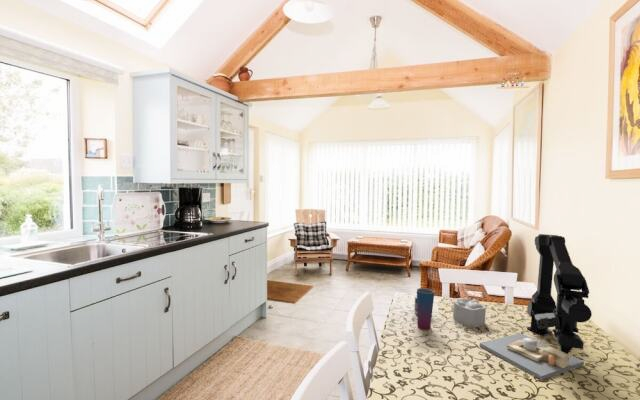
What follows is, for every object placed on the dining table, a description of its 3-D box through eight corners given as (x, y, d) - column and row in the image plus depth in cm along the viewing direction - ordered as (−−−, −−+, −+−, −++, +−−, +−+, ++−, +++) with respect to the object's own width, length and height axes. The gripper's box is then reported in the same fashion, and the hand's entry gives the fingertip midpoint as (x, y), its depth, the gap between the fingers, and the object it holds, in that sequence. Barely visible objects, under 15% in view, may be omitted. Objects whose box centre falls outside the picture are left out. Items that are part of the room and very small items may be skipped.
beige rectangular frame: (506, 348, 117) (507, 338, 117) (522, 341, 122) (522, 332, 122) (558, 371, 103) (559, 360, 103) (573, 362, 108) (574, 352, 108)
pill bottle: (412, 310, 153) (413, 289, 152) (424, 310, 153) (425, 289, 153) (417, 315, 147) (418, 293, 146) (429, 315, 148) (430, 293, 147)
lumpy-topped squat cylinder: (469, 327, 136) (470, 307, 136) (446, 315, 148) (447, 296, 148) (488, 324, 140) (489, 304, 139) (464, 312, 152) (465, 294, 152)
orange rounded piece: (550, 363, 108) (550, 354, 108) (555, 365, 106) (556, 356, 106) (547, 364, 107) (547, 355, 107) (552, 366, 106) (552, 357, 106)
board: (519, 336, 130) (520, 322, 129) (583, 365, 110) (584, 349, 109) (479, 346, 121) (480, 332, 120) (541, 379, 101) (542, 363, 100)
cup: (433, 331, 131) (435, 294, 131) (415, 329, 133) (417, 292, 132) (431, 324, 138) (433, 288, 137) (414, 322, 140) (416, 287, 139)
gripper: (534, 296, 120) (531, 337, 121) (540, 314, 104) (537, 363, 105) (572, 301, 115) (569, 345, 116) (585, 322, 99) (581, 373, 100)
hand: (563, 355), depth 109 cm, fingers closed
